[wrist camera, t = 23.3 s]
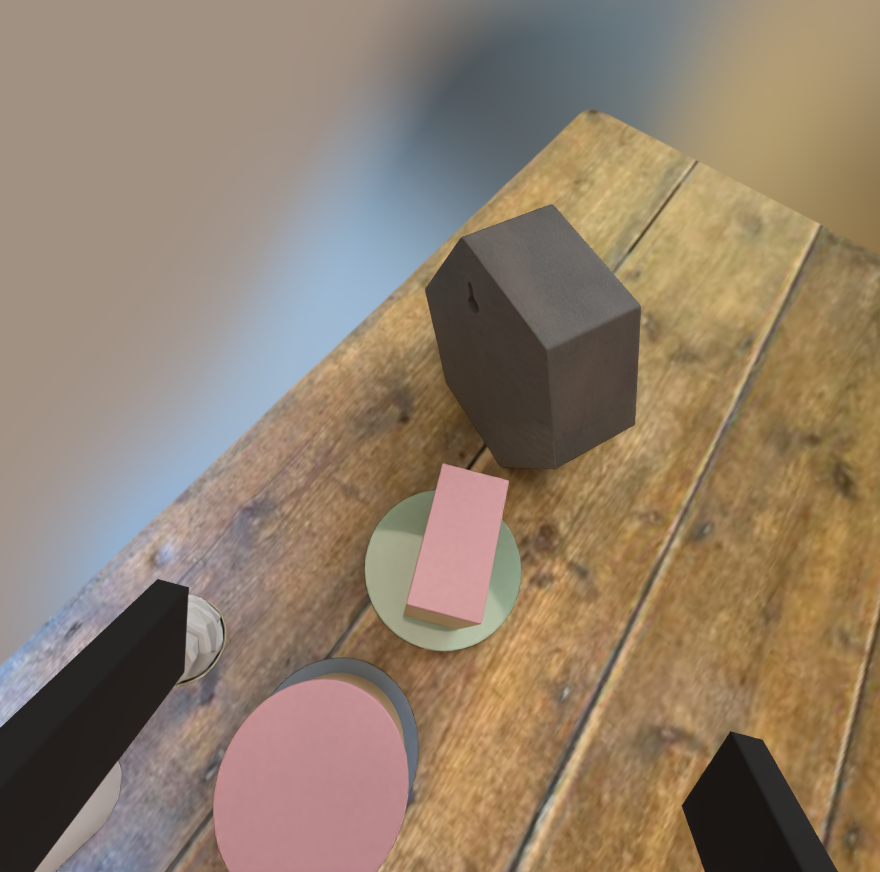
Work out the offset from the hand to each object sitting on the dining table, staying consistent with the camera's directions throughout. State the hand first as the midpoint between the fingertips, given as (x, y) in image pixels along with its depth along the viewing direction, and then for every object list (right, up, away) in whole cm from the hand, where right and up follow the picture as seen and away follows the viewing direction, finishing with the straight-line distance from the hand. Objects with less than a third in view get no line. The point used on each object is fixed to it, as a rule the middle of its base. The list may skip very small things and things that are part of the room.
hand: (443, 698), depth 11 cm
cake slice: (0, -4, +28) cm, 28 cm away
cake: (-8, -16, +23) cm, 29 cm away
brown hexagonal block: (+6, +10, +36) cm, 37 cm away
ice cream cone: (-17, -10, +25) cm, 32 cm away
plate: (0, -5, +29) cm, 29 cm away
